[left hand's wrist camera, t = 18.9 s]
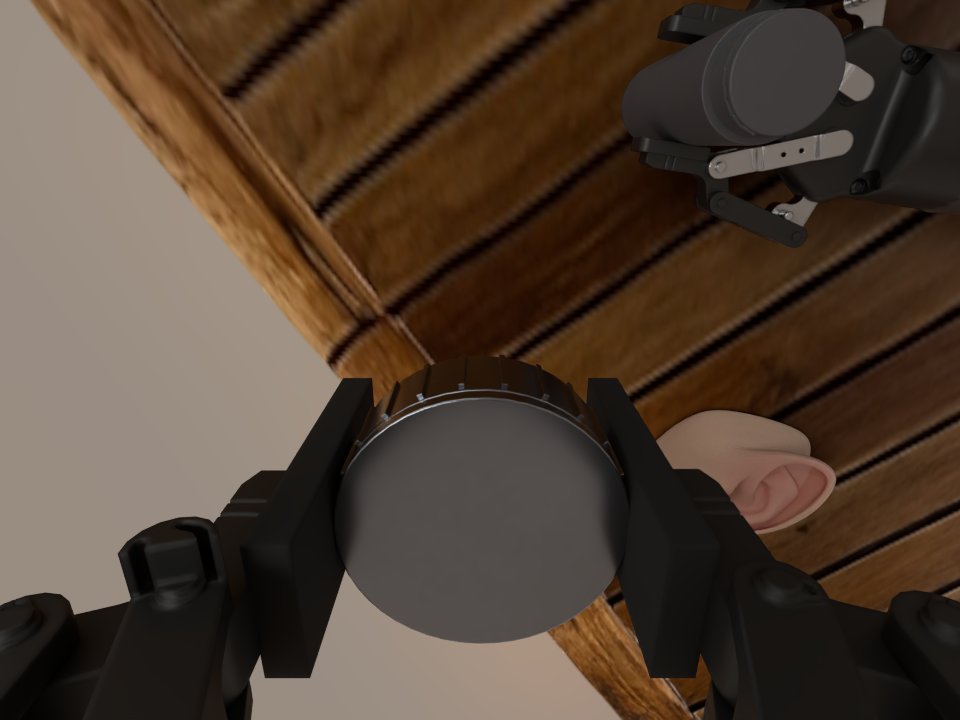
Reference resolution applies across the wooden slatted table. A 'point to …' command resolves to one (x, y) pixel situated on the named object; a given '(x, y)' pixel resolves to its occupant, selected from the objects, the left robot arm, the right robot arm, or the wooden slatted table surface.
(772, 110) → the dark grey cylinder
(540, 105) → the wooden slatted table surface
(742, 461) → the anatomical model
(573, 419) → the lid
